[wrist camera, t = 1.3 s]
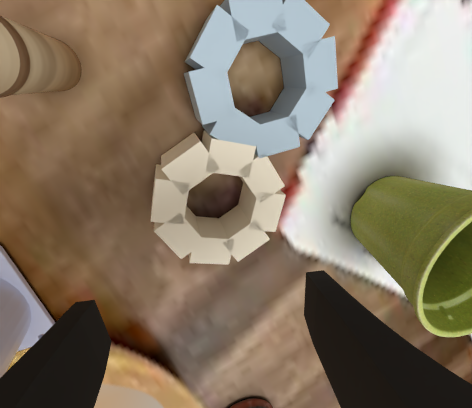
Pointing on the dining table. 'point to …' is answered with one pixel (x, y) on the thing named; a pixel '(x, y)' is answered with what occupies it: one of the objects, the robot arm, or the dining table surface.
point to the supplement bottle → (252, 404)
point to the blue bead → (292, 63)
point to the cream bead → (230, 224)
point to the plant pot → (422, 246)
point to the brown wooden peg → (34, 61)
